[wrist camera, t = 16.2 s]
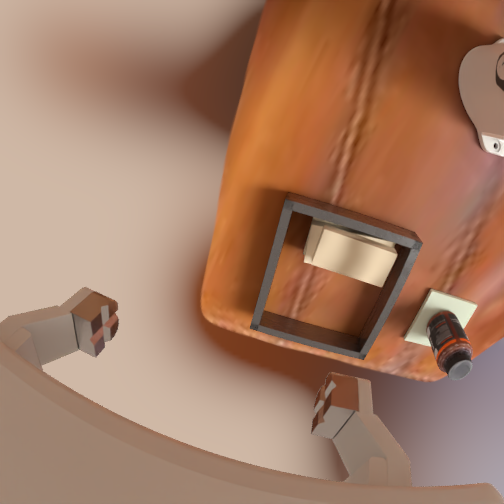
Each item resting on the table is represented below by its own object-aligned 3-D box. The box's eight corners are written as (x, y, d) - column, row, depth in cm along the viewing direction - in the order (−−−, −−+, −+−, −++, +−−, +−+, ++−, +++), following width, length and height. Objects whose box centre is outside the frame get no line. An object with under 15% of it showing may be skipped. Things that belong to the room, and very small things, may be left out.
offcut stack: (394, 233, 42) (403, 250, 36) (380, 271, 44) (386, 291, 39) (314, 209, 43) (312, 223, 38) (303, 249, 46) (299, 268, 40)
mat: (475, 303, 42) (477, 305, 41) (448, 348, 46) (449, 350, 46) (430, 288, 43) (432, 291, 42) (403, 337, 47) (404, 340, 47)
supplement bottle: (418, 333, 46) (433, 381, 36) (436, 305, 43) (457, 351, 33) (445, 341, 45) (462, 387, 35) (463, 314, 43) (485, 359, 32)
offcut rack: (415, 232, 40) (422, 243, 37) (362, 344, 50) (363, 359, 46) (288, 191, 42) (285, 199, 39) (254, 314, 52) (249, 328, 48)
